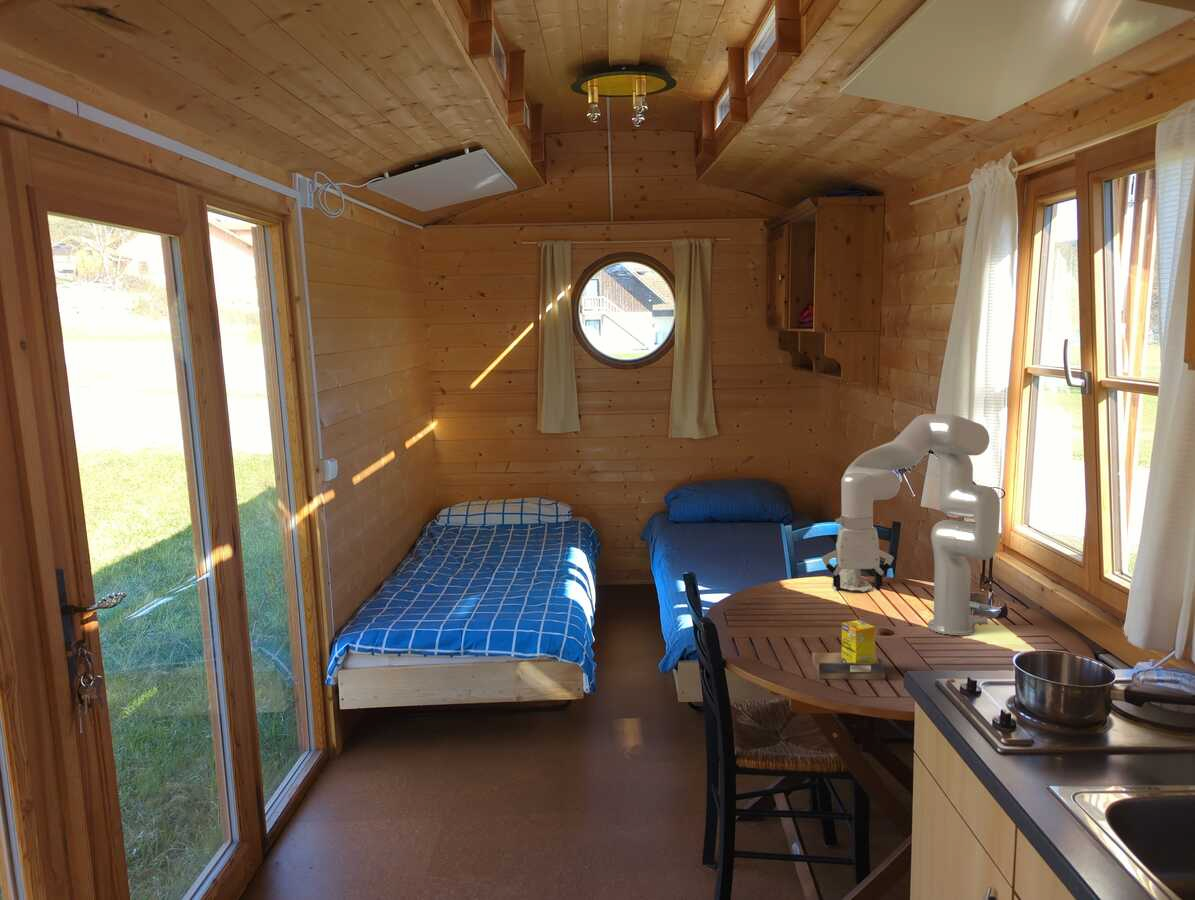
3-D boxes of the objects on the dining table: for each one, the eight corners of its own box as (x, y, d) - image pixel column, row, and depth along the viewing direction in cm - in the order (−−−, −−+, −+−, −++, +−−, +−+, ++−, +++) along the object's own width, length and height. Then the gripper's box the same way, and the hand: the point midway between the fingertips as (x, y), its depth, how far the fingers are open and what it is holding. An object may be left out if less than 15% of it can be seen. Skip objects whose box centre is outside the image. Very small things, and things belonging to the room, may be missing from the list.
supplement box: (841, 663, 222) (841, 622, 221) (860, 659, 224) (860, 619, 223) (855, 671, 217) (855, 629, 215) (875, 667, 219) (875, 626, 218)
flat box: (873, 658, 229) (874, 643, 228) (885, 679, 215) (885, 664, 215) (812, 658, 231) (812, 643, 230) (819, 679, 217) (819, 663, 216)
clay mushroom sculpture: (868, 595, 282) (868, 540, 279) (828, 591, 288) (828, 537, 285) (874, 585, 292) (874, 532, 290) (835, 581, 298) (835, 529, 296)
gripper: (823, 526, 213) (824, 594, 215) (896, 525, 211) (896, 593, 213) (819, 520, 220) (820, 585, 223) (889, 518, 218) (889, 584, 221)
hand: (857, 589), depth 218 cm, fingers open, 9 cm apart
